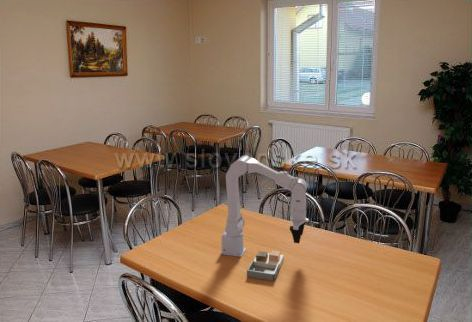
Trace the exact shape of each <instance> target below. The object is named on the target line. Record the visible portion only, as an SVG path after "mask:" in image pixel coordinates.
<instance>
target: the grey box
mask: <svg viewBox="0 0 472 322" xmlns="http://www.w3.org/2000/svg"><path fill="white" fill-rule="evenodd" d="M279 271H280V269H279V263H278V264H277V266H276V269H275V268H268V267H261V266H254V259H252V261H251V262H250V264H249V266H248V268H247V269H246V276H247V278H249V279H256V280H263V281H269V282H275V281H276V278H277V275H278V274H279Z"/></svg>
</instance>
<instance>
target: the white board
mask: <svg viewBox="0 0 472 322" xmlns="http://www.w3.org/2000/svg"><path fill="white" fill-rule="evenodd" d="M269 254H270V252H268V258H267V260H266V262H261V261H256V256H255V257H254V258H253V260H254V266H261V267H268V268H275V269H276V266H277V264H278V263H279V270H280V269H281V266H282V264H283V262H284V258H285V257H284V254H280V259H279V261H271V260H269Z"/></svg>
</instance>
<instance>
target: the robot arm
mask: <svg viewBox="0 0 472 322" xmlns="http://www.w3.org/2000/svg"><path fill="white" fill-rule="evenodd" d="M252 173H253V174H254V173H258V174H261V175H262V176H265V177H267V178H270V179H272V180H274V183H275V184H276V185H277V186H280V187H281V188H283V189H286V190H288V191H289V192H291V194H292V197H291V220H290V221H291V223H292V225H290V226H289V231H290V233H291V235H292V239H293V243H294V244H300V241H301V239H302V236H303V234H304V228H305V224H306V223H308V222H309V220H310V219H309V218H307V216H306V215H307V189H308V183H307V181H306V180H305V179H304V178H299V177H297V176H293V175H291V174H289V173H288V171H286V170H284V171H276V170H274V169H273V168H271V167H269V166H267V165H266V164H264V163H262V162H260V161H258V160H257V159H256V158H255V157H251V156H249V155H242V156H240V157H239V158H237V159H236V160H235V161H234V162H232V163H231V164H230V166H229V168H228V170H227V171H226V174H225V185H226V186H225V187H226V196H227V197H226V199H227V210H228V211H227V212H228V213H227V217H226V225H225V227H224V232H223V233H222V234H221V241H220V242H221V252H220V253H221V255H226V256H232V257H233V256H234V257H240V258H241V257H242V256H243V255H244V253H245V252H246V250H247V247H244V231H243V230H244V229H243V228H244V227H245V224H246V223H245V220H244V218H243V213H242V212H241V203H240V189H239V188H240V187H239V185H240V184H239V177H241V176H244V175H245V174H252Z"/></svg>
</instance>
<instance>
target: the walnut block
mask: <svg viewBox="0 0 472 322" xmlns="http://www.w3.org/2000/svg"><path fill="white" fill-rule="evenodd" d="M268 253H269V252H268V251H260V250H258V251H257V253H256V254H255V257H256V261H261V262H266V260H267V258H268Z"/></svg>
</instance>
